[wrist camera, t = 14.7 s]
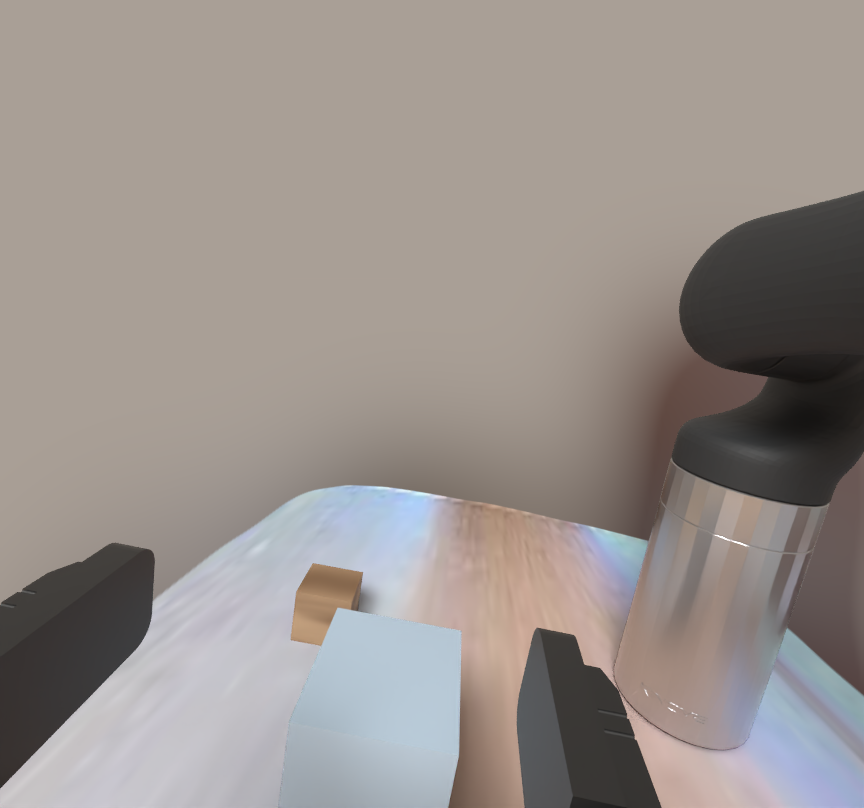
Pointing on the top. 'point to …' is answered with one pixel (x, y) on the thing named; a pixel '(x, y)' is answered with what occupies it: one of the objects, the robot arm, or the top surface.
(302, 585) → the cube
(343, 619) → the tall pale blue box
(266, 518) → the top surface
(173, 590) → the top surface
